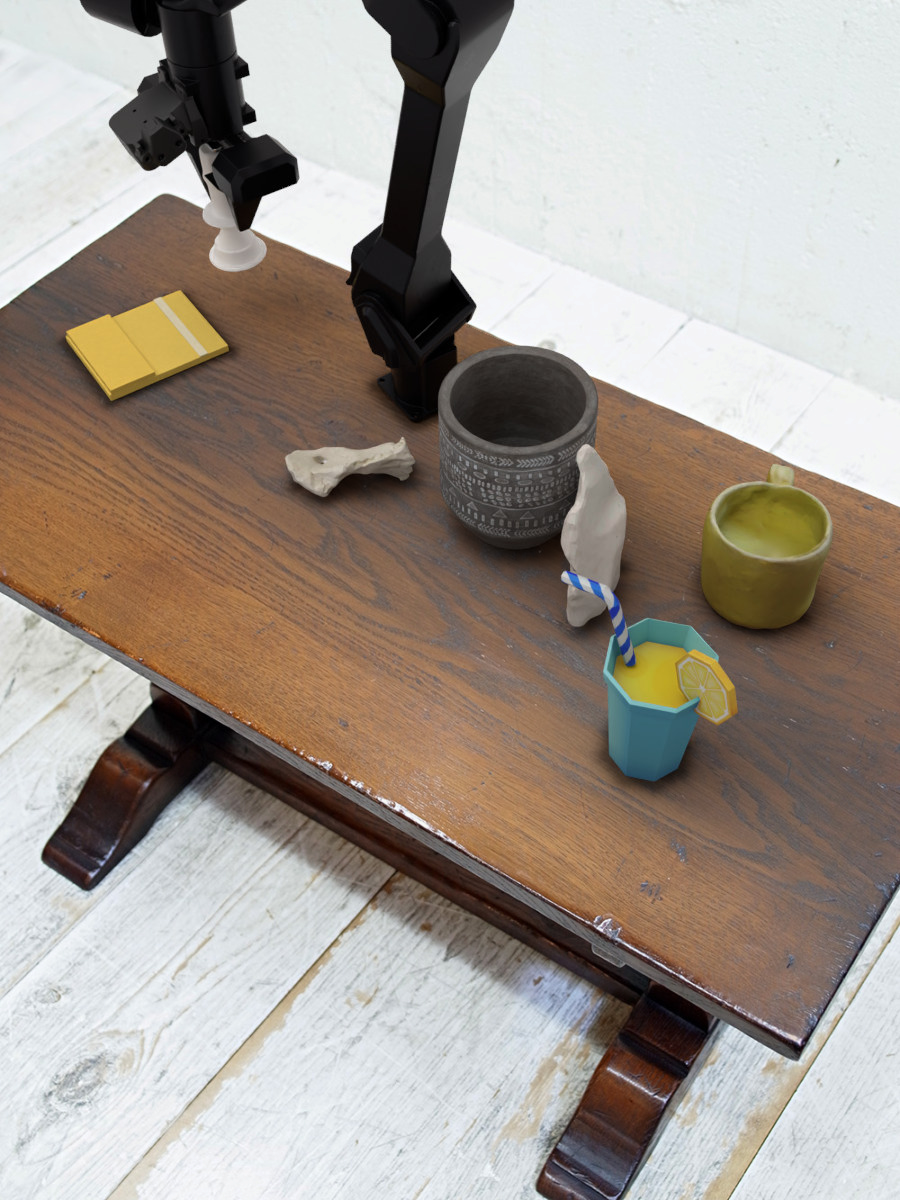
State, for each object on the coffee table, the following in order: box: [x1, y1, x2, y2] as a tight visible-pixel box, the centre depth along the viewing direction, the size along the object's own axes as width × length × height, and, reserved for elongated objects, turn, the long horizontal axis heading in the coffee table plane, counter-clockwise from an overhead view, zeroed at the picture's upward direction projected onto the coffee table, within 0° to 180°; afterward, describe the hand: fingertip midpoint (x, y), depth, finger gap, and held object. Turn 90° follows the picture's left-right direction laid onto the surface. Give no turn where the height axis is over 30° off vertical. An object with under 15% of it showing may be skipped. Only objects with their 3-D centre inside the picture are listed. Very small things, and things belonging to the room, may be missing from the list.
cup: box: [560, 570, 739, 782], centre depth 87 cm, size 14×8×15 cm, turn 53°
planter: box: [437, 344, 599, 550], centre depth 102 cm, size 12×12×13 cm
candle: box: [199, 144, 267, 273], centre depth 115 cm, size 5×5×12 cm
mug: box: [700, 463, 834, 630], centre depth 99 cm, size 12×10×10 cm
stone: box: [560, 444, 628, 627], centre depth 96 cm, size 11×4×15 cm, turn 167°
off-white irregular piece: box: [284, 436, 416, 498], centre depth 108 cm, size 6×10×4 cm, turn 104°
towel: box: [65, 289, 230, 402], centre depth 120 cm, size 10×12×1 cm
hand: (231, 215), depth 116 cm, fingers closed on candle, 5 cm apart
